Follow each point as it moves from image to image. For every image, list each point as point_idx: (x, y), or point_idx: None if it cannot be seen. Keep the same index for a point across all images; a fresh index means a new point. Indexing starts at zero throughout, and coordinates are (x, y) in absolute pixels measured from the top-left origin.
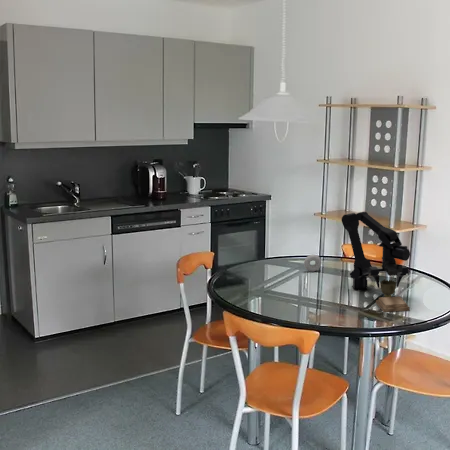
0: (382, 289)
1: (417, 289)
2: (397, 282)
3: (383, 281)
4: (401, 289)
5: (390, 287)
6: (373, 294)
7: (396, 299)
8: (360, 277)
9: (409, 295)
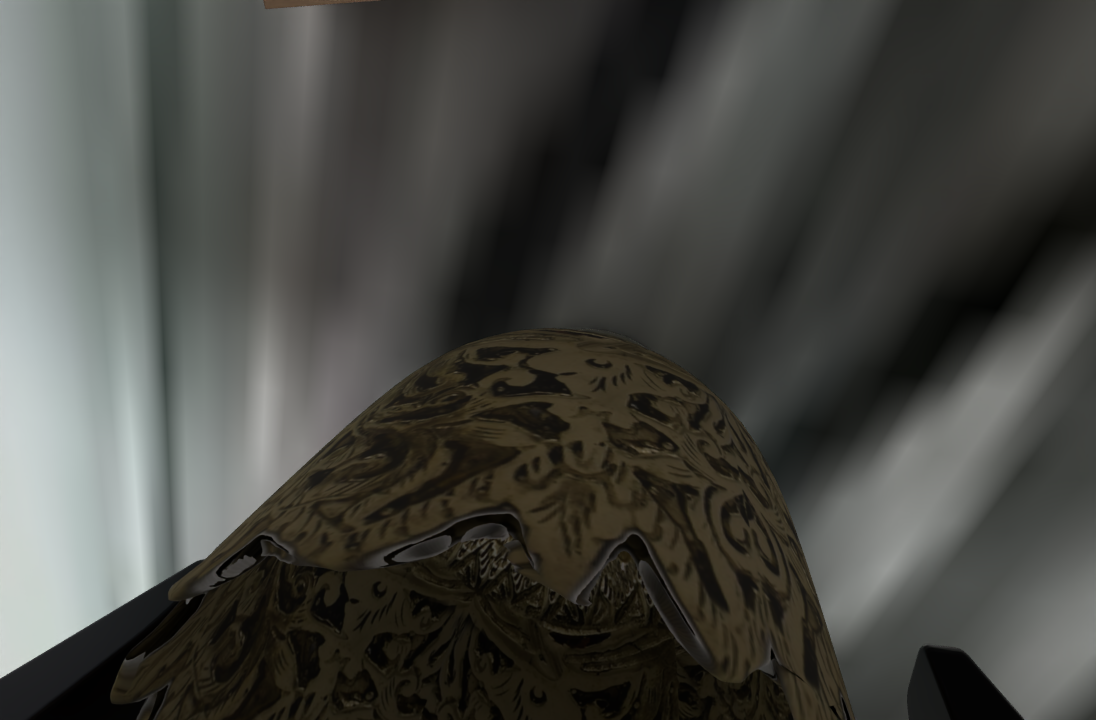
0: (796, 535)
1: (26, 609)
2: (96, 708)
3: None
4: None
5: (475, 439)
6: (875, 612)
7: None
8: None
9: (121, 402)
